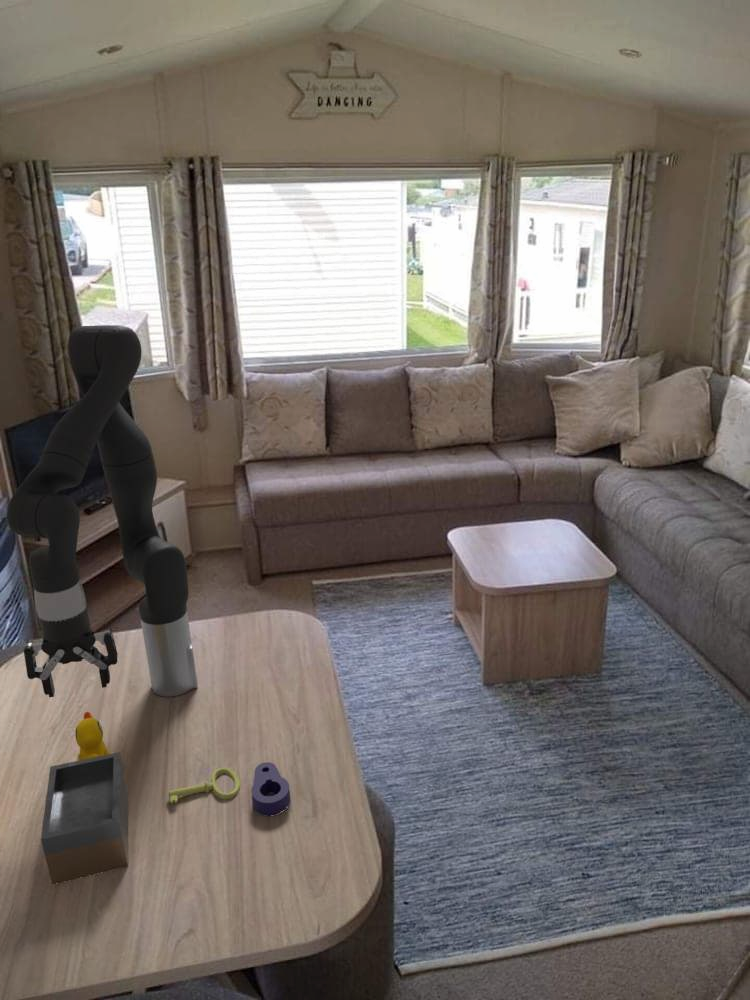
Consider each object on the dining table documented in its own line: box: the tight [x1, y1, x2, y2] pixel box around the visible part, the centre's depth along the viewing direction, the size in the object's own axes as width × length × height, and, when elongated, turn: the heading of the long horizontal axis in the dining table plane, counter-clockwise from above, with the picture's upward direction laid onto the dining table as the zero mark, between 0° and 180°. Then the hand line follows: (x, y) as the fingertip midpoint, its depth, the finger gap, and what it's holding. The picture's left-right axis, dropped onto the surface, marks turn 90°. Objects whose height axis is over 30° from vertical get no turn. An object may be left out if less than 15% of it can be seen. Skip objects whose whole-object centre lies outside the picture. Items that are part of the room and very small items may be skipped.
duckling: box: [74, 711, 110, 761], centre depth 137 cm, size 11×5×10 cm, turn 21°
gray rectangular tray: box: [40, 751, 129, 886], centre depth 122 cm, size 11×16×9 cm
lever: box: [250, 761, 291, 817], centre depth 132 cm, size 12×6×3 cm, turn 15°
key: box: [168, 766, 241, 804], centre depth 132 cm, size 7×12×2 cm, turn 129°
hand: (78, 689), depth 132 cm, fingers open, 8 cm apart
